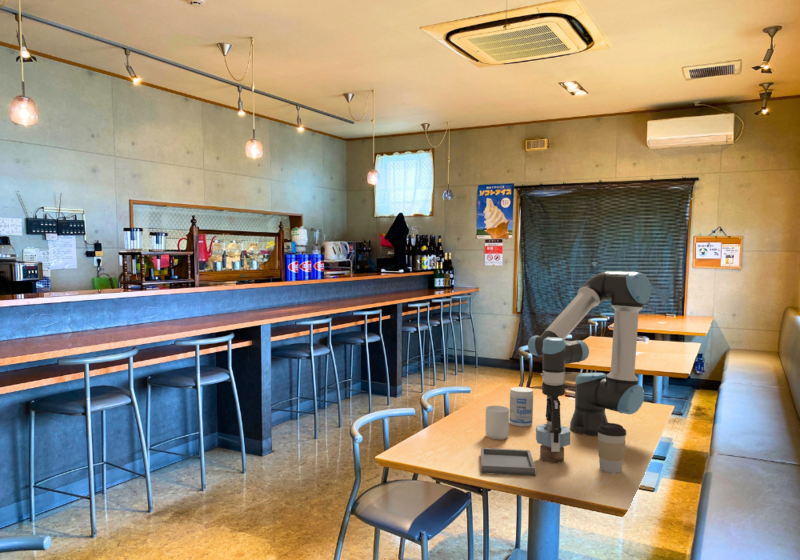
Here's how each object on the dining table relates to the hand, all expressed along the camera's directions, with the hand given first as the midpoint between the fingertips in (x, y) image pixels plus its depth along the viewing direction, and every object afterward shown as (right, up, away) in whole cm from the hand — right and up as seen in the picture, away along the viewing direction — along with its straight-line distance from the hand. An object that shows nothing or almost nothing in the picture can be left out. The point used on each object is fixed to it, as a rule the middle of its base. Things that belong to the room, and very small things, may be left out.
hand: (552, 445), depth 194 cm
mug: (-14, -4, +25) cm, 29 cm away
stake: (0, -5, 0) cm, 5 cm away
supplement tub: (-2, -3, +40) cm, 41 cm away
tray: (-17, -5, -6) cm, 19 cm away
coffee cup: (+17, -5, -9) cm, 20 cm away
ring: (0, +1, 0) cm, 1 cm away
